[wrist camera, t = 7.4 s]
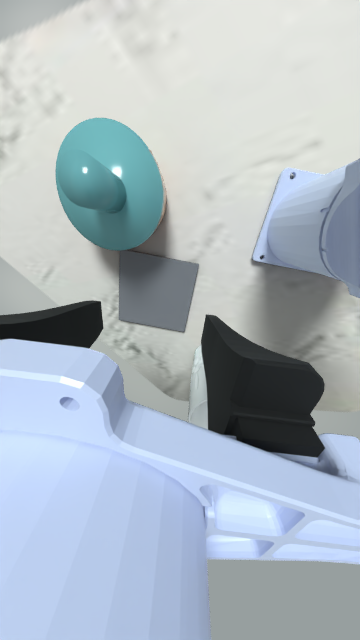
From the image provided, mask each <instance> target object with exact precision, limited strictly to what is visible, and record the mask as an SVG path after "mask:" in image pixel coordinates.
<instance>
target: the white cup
mask: <svg viewBox="0 0 360 640" xmlns="http://www.w3.org/2000/svg"><path fill="white" fill-rule="evenodd" d="M188 422H189V423H191V424H194V425H197V426H200V427H202V428H205V429H208V408H207V385H206V376H205V370H204V364H203V358H202V352H201V345H200V346H199V347H198V348H197V349H196V351H195V355H194V359H193V367H192V376H191V386H190V400H189V413H188Z"/></svg>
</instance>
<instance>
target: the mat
mask: <svg viewBox="0 0 360 640" xmlns="http://www.w3.org/2000/svg"><path fill="white" fill-rule="evenodd" d="M198 266H199V264H196V263H191V262H186V261H181V260H176V259H170V258H165V257H160V256H155V255H150V254H145V253H139V252H134V251H129V250H120V274H119V320H123V321H128V322H134V323H139V324H144V325H150V326H155V327H160V328H166V329H171V330H176V331H182V332H184V331H185V326H186V321H187V317H188V312H189V308H190V303H191V298H192V294H193V289H194V284H195V280H196V275H197V271H198Z"/></svg>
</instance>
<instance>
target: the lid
mask: <svg viewBox="0 0 360 640" xmlns="http://www.w3.org/2000/svg"><path fill="white" fill-rule="evenodd" d="M56 184H57V190H58V194H59V198H60V201H61V204H62V206H63V208H64V211H65V213H66V214H67V216H68V218H69V220H70V221H71V223H72V224H73V225H74V227H75V228H76V229H77V230H78V231H79V232H80V233H81V234H82V235H83V236H84V237H85V238H86V239H88V240H89V241H91V242H92V243H94V244H95V245H98V246H100V247H102V248H105V249H109V250H119V251H120V250H127V249H131V248H134V247H137V246H139V245H141V244H142V243H144V242H145V241H146V240H147V239H149V237H150V236H151V235H152V234H153V232H154V231H155V229H156V228H157V226H158V224H159V221H160V218H161V215H162V211H163V204H164V190H163V183H162V178H161V174H160V171H159V168H158V166H157V164H156V161H155V159H154V157H153V155H152V154H151V152H150V150H149V149H148V147H147V146H146V144H145V143H144V142H143V140H142V139H141V138H140V137H139V136H138V135H137V134H136V133H135V132H134V131H132V130H131V129H130V128H129V127H127V126H125V125H124V124H122V123H120V122H117V121H115V120H112V119H107V118H93V119H88V120H86V121H83V122H81V123H80V124H78V125H76V126H75V127H74V128H73V129H72V130H71V131H70V132H69V133H68V134H67V136H66V137H65V139H64V141H63V142H62V144H61V147H60V150H59V152H58V157H57V161H56Z"/></svg>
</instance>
